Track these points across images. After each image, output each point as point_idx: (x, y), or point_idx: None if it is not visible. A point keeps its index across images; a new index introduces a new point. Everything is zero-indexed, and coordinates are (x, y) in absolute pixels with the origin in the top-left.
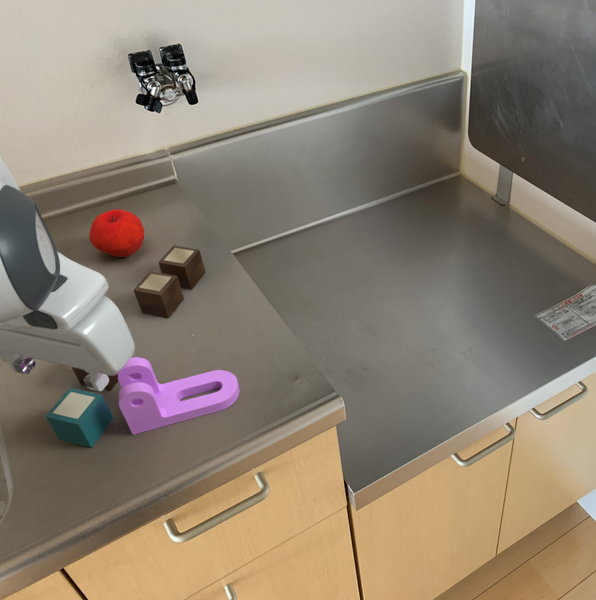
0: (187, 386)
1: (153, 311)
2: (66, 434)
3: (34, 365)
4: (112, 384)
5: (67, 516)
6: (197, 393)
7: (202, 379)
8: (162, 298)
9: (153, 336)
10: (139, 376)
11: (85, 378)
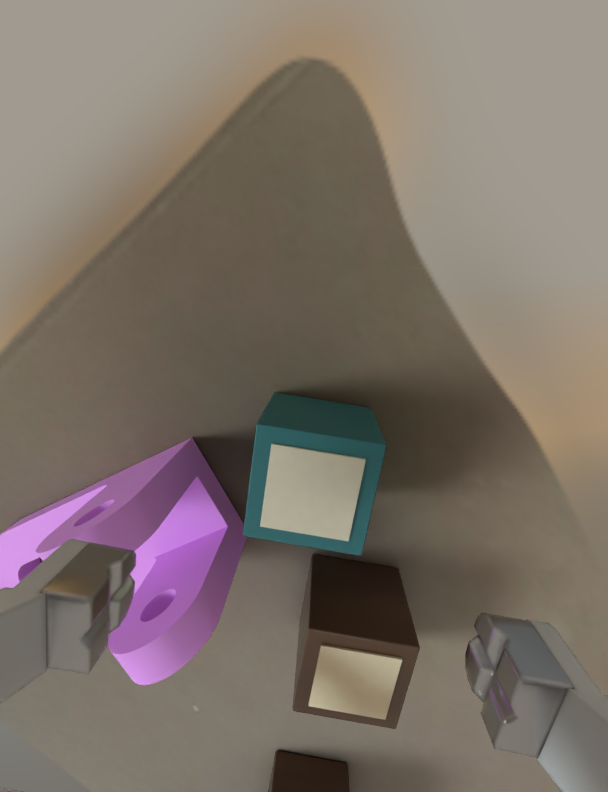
0: None
1: (312, 773)
2: (335, 412)
3: (467, 659)
4: (309, 572)
5: (230, 183)
6: None
7: None
8: None
9: (287, 702)
10: (164, 604)
11: (83, 609)
